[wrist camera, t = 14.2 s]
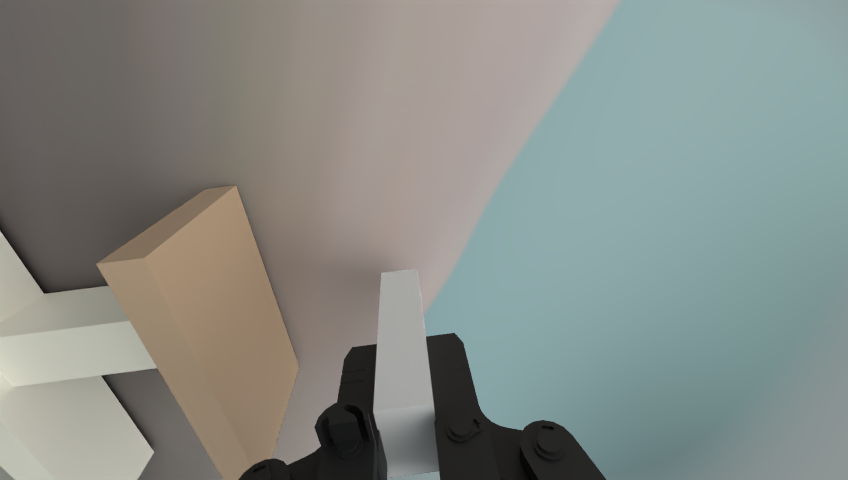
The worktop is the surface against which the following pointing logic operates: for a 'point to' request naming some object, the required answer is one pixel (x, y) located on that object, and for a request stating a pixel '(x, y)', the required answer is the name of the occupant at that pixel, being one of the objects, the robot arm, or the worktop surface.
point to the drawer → (146, 350)
